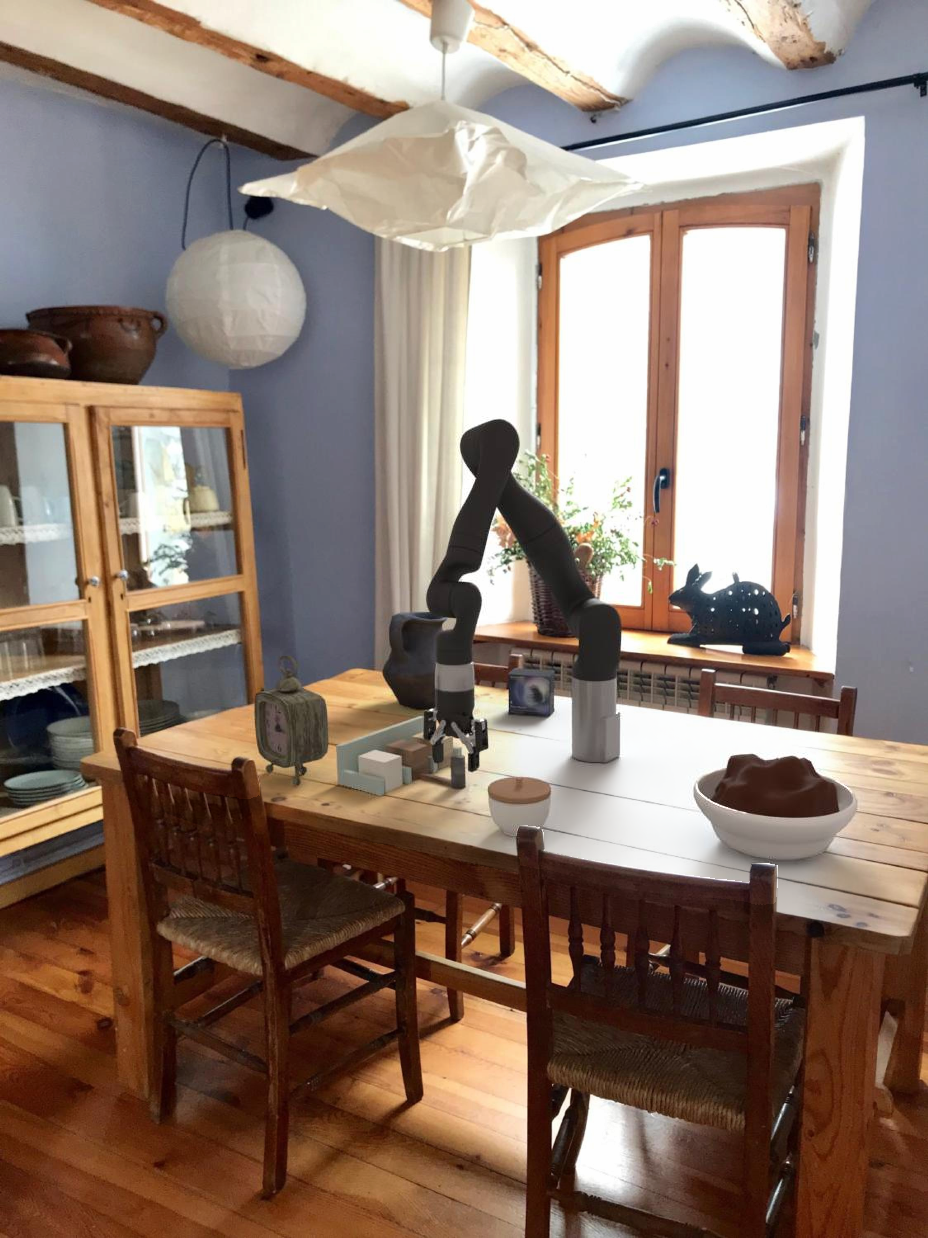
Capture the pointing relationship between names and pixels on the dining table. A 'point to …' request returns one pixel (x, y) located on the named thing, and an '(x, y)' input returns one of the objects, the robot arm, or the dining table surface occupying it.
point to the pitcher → (413, 658)
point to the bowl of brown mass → (774, 806)
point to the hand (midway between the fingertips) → (455, 766)
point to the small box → (531, 692)
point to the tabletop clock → (290, 724)
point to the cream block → (382, 767)
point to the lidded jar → (519, 803)
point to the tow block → (418, 762)
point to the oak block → (446, 743)
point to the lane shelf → (378, 741)
